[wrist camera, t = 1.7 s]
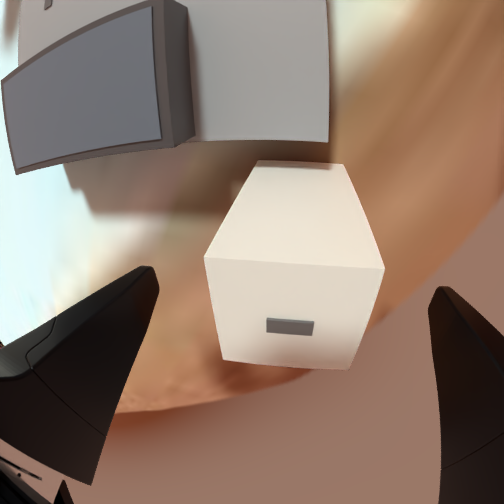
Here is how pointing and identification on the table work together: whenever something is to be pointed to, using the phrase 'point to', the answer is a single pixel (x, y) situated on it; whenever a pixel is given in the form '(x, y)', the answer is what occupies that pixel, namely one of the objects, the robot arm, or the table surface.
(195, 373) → the table surface
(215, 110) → the outlet board
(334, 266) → the block
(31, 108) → the gray flat block
